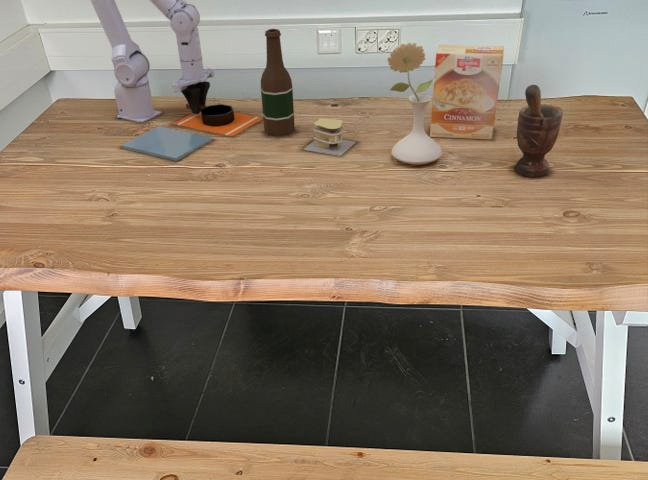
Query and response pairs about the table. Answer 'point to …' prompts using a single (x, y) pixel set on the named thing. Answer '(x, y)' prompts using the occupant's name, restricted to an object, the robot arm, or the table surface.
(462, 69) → the coffeecake box
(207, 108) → the skillet
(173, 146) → the trivet
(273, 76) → the beer bottle
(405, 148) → the flower in vase
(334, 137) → the stacked layers on plate
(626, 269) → the table surface
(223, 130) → the tea towel
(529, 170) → the mortar and pestle
